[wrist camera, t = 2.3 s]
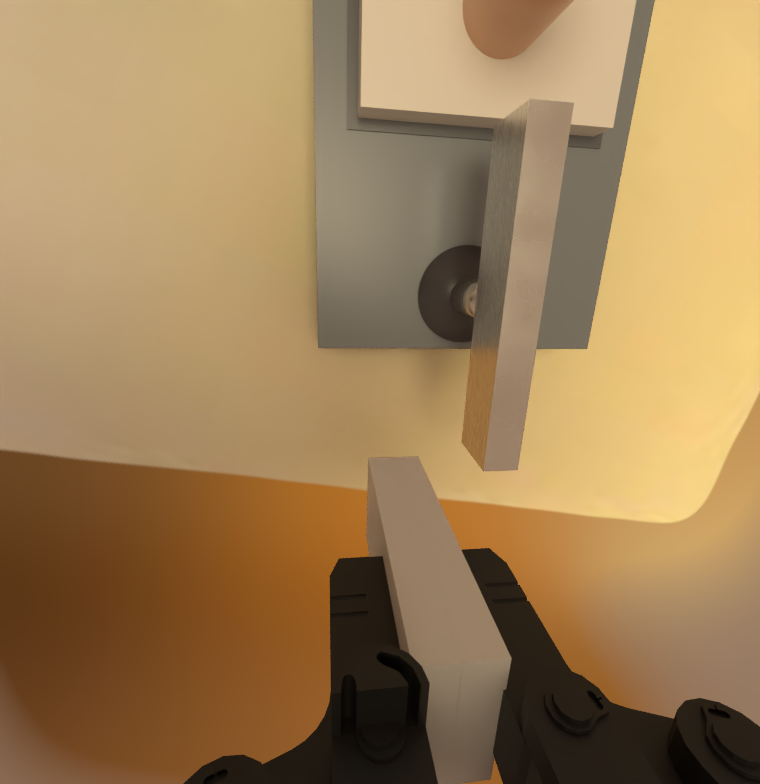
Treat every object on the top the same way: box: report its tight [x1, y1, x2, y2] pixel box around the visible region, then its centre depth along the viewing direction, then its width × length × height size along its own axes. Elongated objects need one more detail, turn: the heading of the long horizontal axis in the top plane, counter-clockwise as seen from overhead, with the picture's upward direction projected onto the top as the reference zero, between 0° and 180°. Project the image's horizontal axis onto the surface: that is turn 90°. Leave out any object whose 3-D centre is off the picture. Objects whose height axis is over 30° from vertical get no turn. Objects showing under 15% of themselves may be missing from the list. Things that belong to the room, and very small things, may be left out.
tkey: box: [451, 99, 574, 471], centre depth 19 cm, size 2×14×6 cm, turn 178°
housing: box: [313, 0, 655, 349], centre depth 22 cm, size 16×21×5 cm
